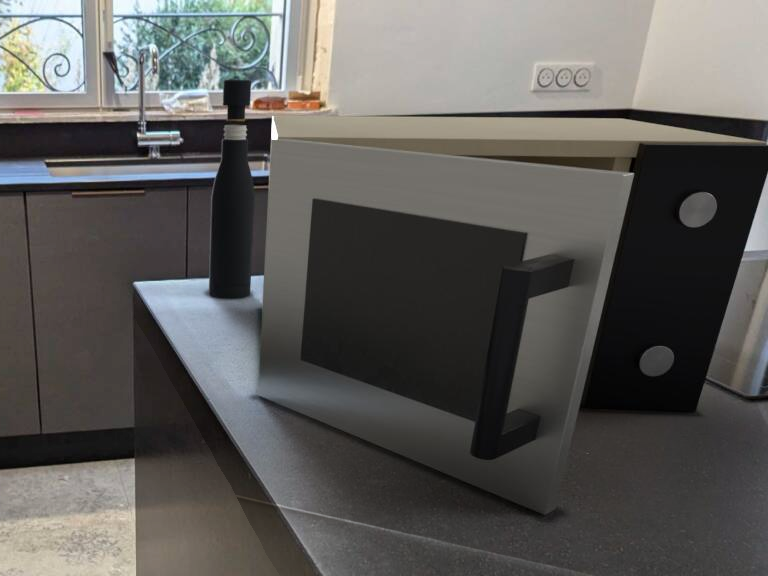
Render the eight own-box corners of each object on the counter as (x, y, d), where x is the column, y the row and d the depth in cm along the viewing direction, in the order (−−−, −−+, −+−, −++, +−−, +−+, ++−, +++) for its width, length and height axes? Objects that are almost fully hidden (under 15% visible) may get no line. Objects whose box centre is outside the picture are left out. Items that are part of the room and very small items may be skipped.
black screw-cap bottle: (200, 294, 126) (205, 80, 113) (222, 285, 131) (229, 79, 118) (236, 300, 123) (245, 81, 110) (257, 291, 128) (268, 80, 115)
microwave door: (498, 542, 61) (573, 182, 50) (211, 409, 84) (219, 143, 73) (555, 509, 66) (634, 173, 55) (268, 392, 89) (283, 138, 78)
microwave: (699, 416, 83) (782, 144, 72) (262, 399, 87) (277, 138, 76) (577, 318, 115) (622, 118, 104) (262, 309, 119) (272, 115, 108)
